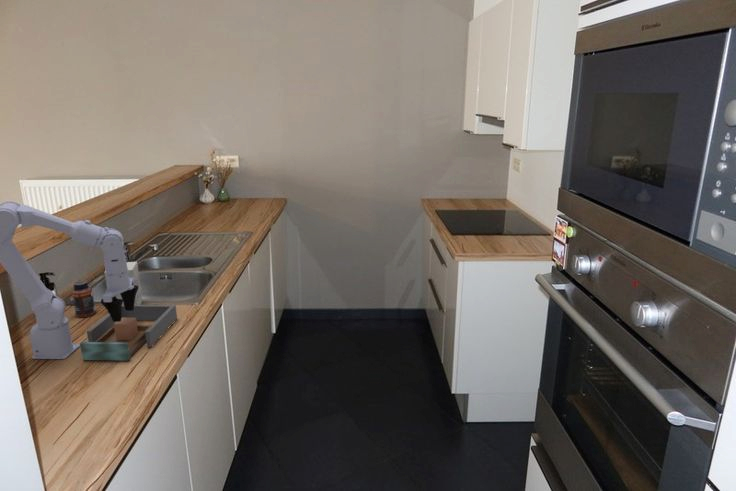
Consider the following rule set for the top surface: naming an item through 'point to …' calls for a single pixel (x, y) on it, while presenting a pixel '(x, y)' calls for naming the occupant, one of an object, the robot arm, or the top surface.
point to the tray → (113, 346)
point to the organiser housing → (157, 313)
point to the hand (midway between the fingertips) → (123, 315)
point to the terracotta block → (126, 329)
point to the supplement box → (134, 274)
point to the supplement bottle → (83, 299)
